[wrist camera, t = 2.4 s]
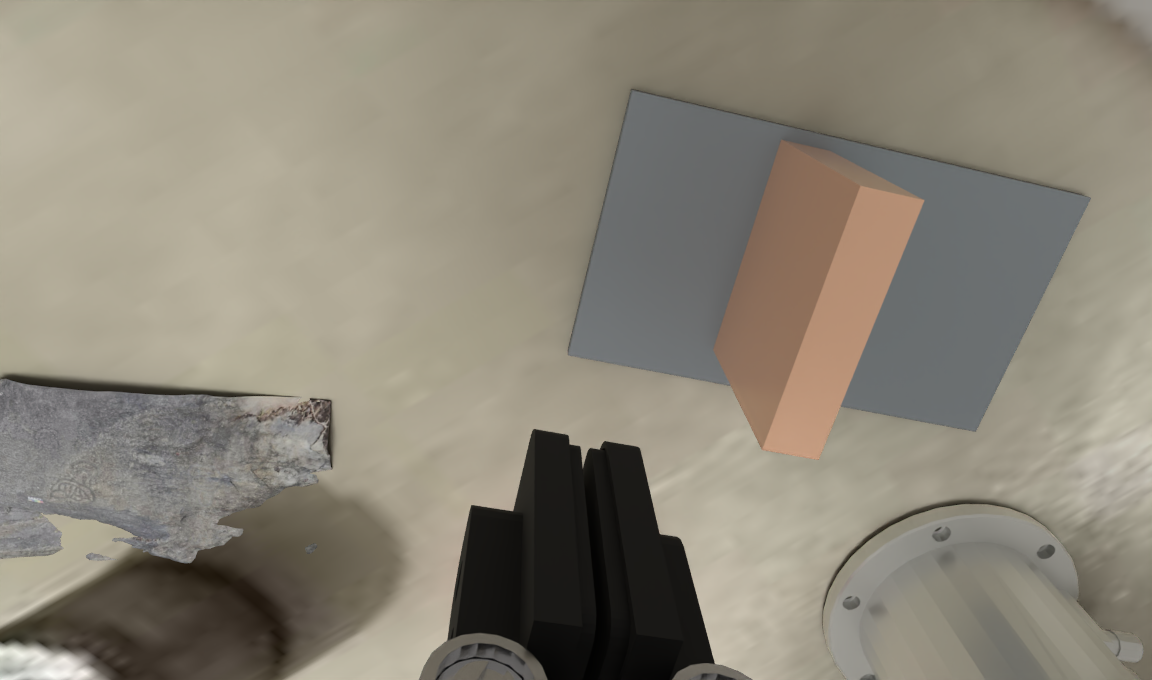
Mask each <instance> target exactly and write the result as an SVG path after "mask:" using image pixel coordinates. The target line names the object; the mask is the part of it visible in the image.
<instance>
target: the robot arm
mask: <svg viewBox="0 0 1152 680" xmlns="http://www.w3.org/2000/svg"><path fill="white" fill-rule="evenodd" d="M1078 595H1079V587H1078V574H1077V571H1076V568H1075V565H1074V562H1073V559H1072V558H1071V556H1070V555H1069V553H1068V552H1067V550H1066V549H1065V547H1064V546H1063V544H1062V543H1061V542H1060V541H1059V540H1058V539H1057V538H1056V537H1055V536H1054V535H1053V534H1052V533H1051V532H1050V531H1049V530H1048V529H1047V528H1046V527H1045V526H1044V525H1042V524H1040V523H1039V522H1037V521H1036V520H1034V519H1033V518H1031V517H1030V516H1028V515H1026V514H1023V513H1020V512H1018V511H1015V510H1013V509H1010V508H1005V507H1000V506H994V505H988V504H960V505H953V506H947V507H940V508H935V509H932V510H929V511H926V512H923V513H919V514H916V515H913V516H911V517H909V518H906V519H904V520H902V521H900V522H898V523H896V524H894V525H892V526H890V527H888V528H887V529H885V530H884V531H882V532H881V533H879V534H878V535H876V536H875V537H873V538H872V539H870V540H869V541H868V542H867V543H865V544H864V545H863V546H862V547H861V548H860V549H859V550H858V551H857V552H856V553H855V554H853V555H852V556H851V557H850V559H849V560H848V561H847V563H846V564H845V565H844V567H843V568H842V569H841V570H840V572H839V573H838V574H837V576H836V578H835V580H834V582H833V584H832V586H831V588H830V590H829V592H828V595H827V599H826V603H825V606H824V610H823V631H824V636H825V640H826V644H827V647H828V649H829V651H830V653H831V655H832V658H833V660H834V662H835V665H836V666H837V667H838V669H839V670H840V672H841V673H842V674H843V676H844V677H845V679H847V680H1140V678H1139V676H1138V675H1137V674H1136V673H1135V672H1134V671H1132V670H1131V669H1128V668H1126V667H1125V666H1124V665H1123V664H1122V662H1121V661H1125V662H1136V663H1137V662H1138V661H1139V660H1140V659H1141V658H1142V655H1143V652H1144V651H1143V644H1142V642H1141V641H1140V639H1139V637H1137V636H1136V635H1134V634H1133V633H1126V632H1120V631H1114V630H1102V629H1101V628H1100V627H1099V626H1098V625H1097V624H1096V623H1095V621H1094V620H1093V619H1092V618H1091V617H1090V616H1089V615H1088V614H1087V612H1086V611H1085V610H1084V609H1083V608H1082V607H1081V606H1080V605H1079V603H1078V602H1077V600H1078ZM419 680H752V679H751V678H749V677H747V676H746V675H744V674H743V673H741V672H739V671H736V670H734V669H731V668H728V667H726V666H723V665H716V664H715V663H714V659H713V655H712V651H711V648H710V644H709V640H708V636H707V633H706V629H705V625H704V621H703V618H702V614H701V610H700V606H699V603H698V599H697V595H696V591H695V588H694V584H693V580H692V576H691V573H690V569H689V565H688V561H687V557H686V554H685V550H684V546H683V544H682V542H681V540H680V539H679V538H678V537H674V536H668V535H661V534H659V530H658V525H657V521H656V516H655V512H654V508H653V503H652V499H651V494H650V490H649V486H648V481H647V477H646V472H645V468H644V464H643V459H642V455H641V451H640V448H639V447H636V446H630V445H624V444H618V443H612V442H606V441H604V442H603V444H602V446H601V448H600V450H599V449H593V448H590V449H589V450H588V452H587V456H586V459H585V463H584V466H583V468H582V457H581V448H580V446H575V445H569V436H568V435H565V434H559V433H553V432H547V431H542V430H536V429H534V430H533V431H532V434H531V438H530V442H529V446H528V450H527V455H526V459H525V463H524V468H523V472H522V476H521V480H520V485H519V489H518V493H517V498H516V502H515V506H514V511H506V510H500V509H494V508H487V507H481V506H474V505H472V506H471V508H470V512H469V517H468V522H467V526H466V531H465V536H464V541H463V546H462V551H461V556H460V562H459V567H458V573H457V578H456V584H455V591H454V597H453V604H452V611H451V618H450V625H449V632H448V640H447V641H446V642H444V643H443V644H442V645H441V646H440V647H438V648H437V649H436V650H435V651H433V652H432V654H431V655H430V657H429V659H428V660H427V662H426V664H425V665H424V667H423V670H422V673H421V676H420V678H419Z"/></svg>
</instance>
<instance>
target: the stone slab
mask: <svg viewBox="0 0 1152 680" xmlns="http://www.w3.org/2000/svg"><path fill="white" fill-rule="evenodd" d="M300 399H301V397H277V396H245V397H215V396H210V395H152V394H138V393H125V392H111V391H100V392H96V391H83V390H73V389H64V388H54V387H45V386H36V385H27V384H23V383H18V382H15V381H11V380H8V379H0V559H3V558H15V557H29V556H46V555H52V554H54V553H56V552H58V551H60V550H61V549H63V547H61V546H60V545H61V543H60V542H61V540H60V538H61V536H62V532H60V531H59V530H58V529H57V528H56V527H55V526H54V525H53V524H52V523H50V522H49V521H48V519H47V518H46V517H44V516H43V515H41V514H40V513H43V514H50V515H51V514H58V515H65V516H70V517H72V518H76V519H80V520H81V519H88V520H90V519H93V520H97V521H99V522H102V523H106V524H110V525H113V526H116V527H118V528H122V529H124V530H126V531H128V532H130V533H132V534H133V535H135V536H138V537H133V538H114V539H113V540H112V541H114V542H116V541H123V542H125V543H128V544H131V545H132V547H133V548H138V549H144V551H143V552H146V551H148V552H149V553H150V554H152V555H155V556H160V557H163V558H170V559H172V560H174V561H178V562H181V563H191V562H192V561H193V560H194V558H195V557H196V553H197V551H198V550H202V549H206V548H207V549H210V548H212V547H215V546H220V545H224V544H225V543H226V542H227V541H228V540H229V539H231V537H232V536H236V537H238V536H241V535H242V533H243V529H235V528H232V527H229V526H222V525H218V526H217V523H218V521H219V519H220V518H222V517H225V516H229V515H230V514H231V513H233V512H238V511H242V510H245V509H248V508H255V507H259V506H261V504H262V503H263V502H264V501H265V500H267V499H268V498H271V497H273V496H275V495H277V494H279V493H280V492H281V491H282V490H283V489H284V488H287V487H293V486H300V487H305V486H309V485H312V484H316V483H318V479H317V476H316V475H313V474H310V473H312V472H319V471H325V470H332V468H331V463H330V455H329V454H328V450H327V447H328V435H329V424H330V414H331V410H330V403H331V401H325V400H319V399H317V400H319V401H320V402H316V401H317V400H311V398H310V401H307V402H302V403H298V402H299V400H300ZM297 403H298V404H297ZM316 548H317V545H316V544H315V543H314V544H311V545H309V546H308V547H305V549H306V552H307V554H310V553H312V552H313V551H314V550H315V549H316ZM86 558H88V559H89V560H116V559H111V558H109V557H106V556H102V555H100V554H93V553H90V554H88V555H86Z"/></svg>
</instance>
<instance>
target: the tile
mask: <svg viewBox="0 0 1152 680" xmlns="http://www.w3.org/2000/svg"><path fill="white" fill-rule="evenodd" d="M923 203H924V200H923V199H921V198H919V197H917V196H915V195H914V194H912V193H910V192H908V191H906V190H904V189H902V188H900V187H898V186H896V185H894V184H893V183H891V182H889V181H887V180H885V179H883V178H881V177H879V176H877V175H875V174H873V173H872V172H870V171H868V170H866V169H864V168H862V167H860V166H858V165H856V164H854V163H852V162H851V161H849V160H847V159H845V158H843V157H841V156H839V155H837V154H835V153H833V152H831V151H829V150H824V149H820V148H816V147H811V146H807V145H803V144H798V143H794V142H790V141H786V140H781V142H780V145H779V148H778V151H777V154H776V157H775V160H774V163H773V166H772V169H771V173H770V176H769V179H768V182H767V185H766V188H765V191H764V194H763V197H762V200H761V203H760V206H759V210H758V213H757V216H756V219H755V222H754V225H753V228H752V231H751V234H750V237H749V240H748V244H747V247H746V250H745V253H744V256H743V259H742V262H741V265H740V268H739V271H738V274H737V277H736V281H735V284H734V287H733V290H732V293H731V296H730V299H729V302H728V305H727V308H726V311H725V315H724V318H723V321H722V324H721V327H720V330H719V333H718V336H717V339H716V342H715V345H714V349H713V351H714V353H715V355H716V357H717V359H718V361H719V363H720V365H721V367H722V369H723V371H724V373H725V375H726V377H727V379H728V381H729V383H730V385H731V387H732V389H733V391H734V393H735V396H736V398H737V400H738V402H739V404H740V406H741V408H742V410H743V412H744V414H745V416H746V418H747V420H748V422H749V424H750V426H751V428H752V430H753V432H754V434H755V436H756V438H757V440H758V442H759V444H760V447H761V449H762V450H766V451H771V452H777V453H782V454H788V455H794V456H799V457H805V458H811V459H816V460H819V458H820V455H821V453H822V450H823V448H824V445H825V443H826V440H827V438H828V436H829V433H830V431H831V428H832V426H833V423H834V421H835V418H836V416H837V414H838V411H839V409H840V406H841V404H842V401H843V399H844V396H845V394H846V391H847V389H848V387H849V384H850V382H851V379H852V377H853V374H854V372H855V369H856V367H857V365H858V362H859V360H860V357H861V355H862V352H863V350H864V347H865V345H866V342H867V340H868V338H869V335H870V333H871V330H872V328H873V325H874V323H875V320H876V318H877V316H878V313H879V311H880V308H881V306H882V303H883V301H884V298H885V296H886V294H887V291H888V289H889V286H890V284H891V281H892V279H893V276H894V274H895V271H896V269H897V267H898V264H899V262H900V259H901V257H902V254H903V252H904V249H905V247H906V245H907V242H908V240H909V237H910V235H911V232H912V230H913V227H914V225H915V222H916V220H917V218H918V215H919V213H920V210H921V208H922V205H923Z"/></svg>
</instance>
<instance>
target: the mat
mask: <svg viewBox="0 0 1152 680" xmlns="http://www.w3.org/2000/svg"><path fill="white" fill-rule="evenodd" d="M781 140H786V141H790V142H794V143H798V144H803V145H807V146H811V147H816V148H820V149H824V150H829V151H831V152H833V153H835V154H837V155H839V156H841V157H843V158H845V159H847V160H849V161H851V162H852V163H854V164H856V165H858V166H860V167H862V168H864V169H866V170H868V171H870V172H872V173H873V174H875V175H877V176H879V177H881V178H883V179H885V180H887V181H889V182H891V183H893V184H894V185H896V186H898V187H900V188H902V189H904V190H906V191H908V192H910V193H912V194H914V195H915V196H917V197H919V198H921V199H923V200H924V203H923V205H922V208H921V210H920V213H919V215H918V218H917V220H916V222H915V225H914V227H913V230H912V232H911V235H910V237H909V240H908V242H907V245H906V247H905V249H904V252H903V254H902V257H901V259H900V262H899V264H898V267H897V269H896V271H895V274H894V276H893V279H892V281H891V284H890V286H889V289H888V291H887V294H886V296H885V298H884V301H883V303H882V306H881V308H880V311H879V313H878V316H877V318H876V320H875V323H874V325H873V328H872V330H871V333H870V335H869V338H868V340H867V342H866V345H865V347H864V350H863V352H862V355H861V357H860V360H859V362H858V365H857V367H856V369H855V372H854V374H853V377H852V379H851V382H850V384H849V387H848V389H847V391H846V394H845V396H844V399H843V401H842V404H841V407H847V408H852V409H857V410H863V411H868V412H873V413H879V414H884V415H889V416H895V417H900V418H905V419H911V420H916V421H921V422H927V423H932V424H937V425H943V426H948V427H953V428H959V429H964V430H969V431H975V432H976V430H977V428H978V426H979V424H980V422H981V420H982V418H983V416H984V414H985V412H986V410H987V408H988V406H989V404H990V402H991V400H992V398H993V396H994V394H995V392H996V389H997V387H998V385H999V383H1000V381H1001V379H1002V377H1003V375H1004V373H1005V371H1006V369H1007V367H1008V365H1009V363H1010V361H1011V359H1012V357H1013V355H1014V353H1015V351H1016V349H1017V347H1018V345H1019V343H1020V341H1021V339H1022V337H1023V335H1024V333H1025V331H1026V329H1027V327H1028V325H1029V323H1030V321H1031V319H1032V317H1033V315H1034V313H1035V311H1036V308H1037V306H1038V304H1039V302H1040V300H1041V298H1042V296H1043V294H1044V292H1045V290H1046V288H1047V286H1048V284H1049V282H1050V280H1051V278H1052V276H1053V274H1054V272H1055V270H1056V268H1057V266H1058V264H1059V262H1060V260H1061V258H1062V256H1063V254H1064V252H1065V250H1066V248H1067V246H1068V244H1069V242H1070V240H1071V238H1072V236H1073V234H1074V232H1075V230H1076V227H1077V225H1078V223H1079V221H1080V219H1081V217H1082V215H1083V213H1084V211H1085V209H1086V207H1087V205H1088V203H1089V201H1090V199H1091V198H1090V197H1087V196H1084V195H1081V194H1077V193H1072V192H1068V191H1064V190H1059V189H1055V188H1051V187H1047V186H1042V185H1038V184H1034V183H1030V182H1025V181H1021V180H1017V179H1013V178H1008V177H1004V176H1000V175H995V174H991V173H987V172H983V171H978V170H974V169H970V168H966V167H961V166H957V165H953V164H949V163H944V162H940V161H936V160H931V159H927V158H923V157H919V156H914V155H910V154H906V153H902V152H897V151H893V150H889V149H885V148H880V147H876V146H872V145H867V144H863V143H859V142H855V141H850V140H846V139H842V138H838V137H833V136H829V135H825V134H821V133H816V132H812V131H808V130H803V129H799V128H795V127H791V126H786V125H782V124H778V123H774V122H769V121H765V120H761V119H756V118H752V117H748V116H744V115H739V114H735V113H731V112H727V111H722V110H718V109H714V108H710V107H705V106H701V105H697V104H692V103H688V102H684V101H680V100H675V99H671V98H667V97H663V96H658V95H654V94H650V93H646V92H641V91H637V90H633V89H631V92H630V96H629V100H628V104H627V108H626V112H625V117H624V121H623V125H622V129H621V133H620V137H619V141H618V145H617V149H616V154H615V158H614V162H613V166H612V170H611V174H610V178H609V182H608V187H607V191H606V195H605V199H604V203H603V207H602V211H601V215H600V220H599V224H598V228H597V232H596V236H595V240H594V244H593V248H592V253H591V257H590V261H589V265H588V269H587V273H586V277H585V281H584V286H583V290H582V294H581V298H580V302H579V306H578V310H577V314H576V319H575V323H574V327H573V331H572V335H571V339H570V343H569V347H568V355H569V356H575V357H580V358H585V359H591V360H596V361H601V362H607V363H612V364H617V365H623V366H628V367H633V368H639V369H644V370H649V371H655V372H660V373H665V374H671V375H676V376H681V377H687V378H692V379H697V380H703V381H708V382H713V383H719V384H724V385H729V386H731V385H730V383H729V381H728V379H727V377H726V375H725V373H724V371H723V369H722V367H721V365H720V363H719V361H718V359H717V357H716V355H715V353H714V351H713V349H714V345H715V342H716V339H717V336H718V333H719V330H720V327H721V324H722V321H723V318H724V315H725V311H726V308H727V305H728V302H729V299H730V296H731V293H732V290H733V287H734V284H735V281H736V277H737V274H738V271H739V268H740V265H741V262H742V259H743V256H744V253H745V250H746V247H747V244H748V240H749V237H750V234H751V231H752V228H753V225H754V222H755V219H756V216H757V213H758V210H759V206H760V203H761V200H762V197H763V194H764V191H765V188H766V185H767V182H768V179H769V176H770V173H771V169H772V166H773V163H774V160H775V157H776V154H777V151H778V148H779V145H780V142H781Z"/></svg>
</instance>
